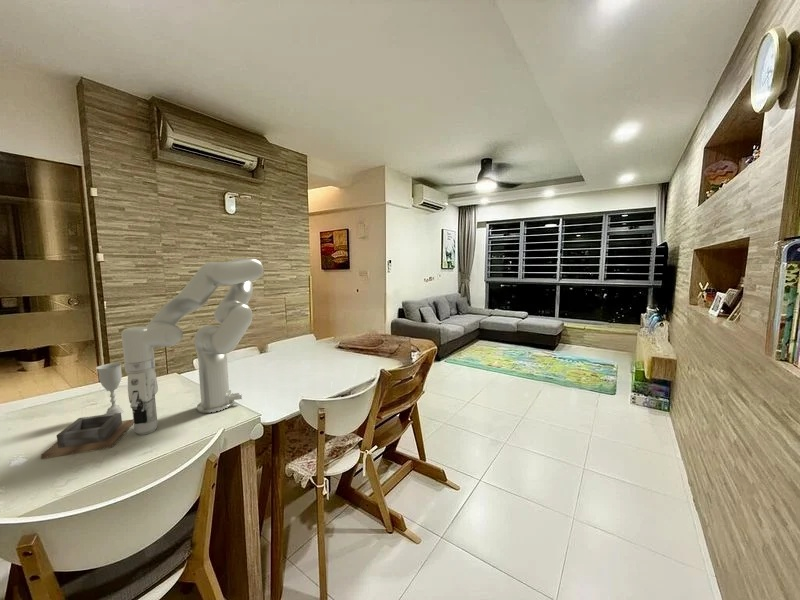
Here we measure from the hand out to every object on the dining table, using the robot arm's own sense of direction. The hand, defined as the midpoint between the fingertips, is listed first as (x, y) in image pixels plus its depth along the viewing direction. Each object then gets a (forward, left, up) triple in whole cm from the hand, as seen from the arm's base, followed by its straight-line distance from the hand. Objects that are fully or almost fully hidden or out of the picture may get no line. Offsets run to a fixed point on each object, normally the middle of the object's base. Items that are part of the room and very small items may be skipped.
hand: (145, 417), depth 105 cm
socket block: (+14, 0, -5) cm, 15 cm away
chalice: (+16, -19, -5) cm, 25 cm away
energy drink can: (0, 0, -5) cm, 5 cm away
